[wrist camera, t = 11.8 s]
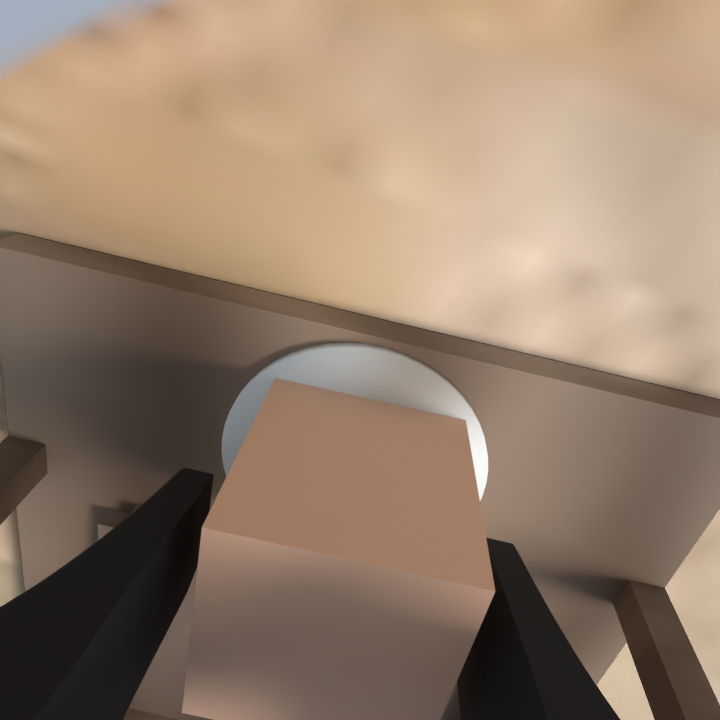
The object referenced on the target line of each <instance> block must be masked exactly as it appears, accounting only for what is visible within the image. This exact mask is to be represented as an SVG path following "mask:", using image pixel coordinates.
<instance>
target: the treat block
mask: <svg viewBox="0 0 720 720" xmlns="http://www.w3.org/2000/svg"><path fill="white" fill-rule="evenodd" d="M494 594H495V585H494V580H493V574H492V568H491V562H490V557H489V551H488V545H487V539H486V533H485V528H484V522H483V516H482V510H481V504H480V499H479V493H478V487H477V481H476V476H475V470H474V464H473V458H472V452H471V447H470V441H469V435H468V429H467V424H466V420H463V419H459V418H454V417H450V416H445V415H441V414H436V413H432V412H427V411H423V410H418V409H414V408H409V407H405V406H400V405H396V404H391V403H387V402H382V401H378V400H373V399H369V398H364V397H360V396H355V395H351V394H346V393H342V392H338V391H333V390H328V389H324V388H319V387H315V386H310V385H306V384H301V383H297V382H292V381H288V380H283V379H279V378H275V379H274V381H273V383H272V385H271V387H270V389H269V391H268V393H267V395H266V397H265V399H264V401H263V403H262V405H261V407H260V410H259V412H258V414H257V416H256V418H255V420H254V422H253V424H252V426H251V428H250V430H249V432H248V434H247V436H246V438H245V440H244V442H243V444H242V446H241V448H240V450H239V452H238V454H237V457H236V459H235V461H234V463H233V465H232V467H231V469H230V471H229V473H228V475H227V477H226V479H225V481H224V483H223V485H222V487H221V489H220V491H219V493H218V495H217V497H216V499H215V502H214V504H213V506H212V508H211V510H210V512H209V514H208V516H207V518H206V520H205V522H204V524H203V526H202V530H201V540H200V549H199V558H198V567H197V577H196V586H195V595H194V604H193V614H192V623H191V632H190V641H189V651H188V660H187V669H186V678H185V688H184V697H183V706H182V713H185V714H189V715H194V716H199V717H203V718H208V719H213V720H440V719H441V717H442V715H443V712H444V710H445V708H446V705H447V703H448V701H449V698H450V696H451V694H452V691H453V689H454V687H455V684H456V682H457V680H458V677H459V675H460V673H461V670H462V668H463V666H464V663H465V661H466V659H467V656H468V654H469V652H470V650H471V647H472V645H473V643H474V640H475V638H476V636H477V633H478V631H479V629H480V626H481V624H482V622H483V619H484V617H485V615H486V612H487V610H488V608H489V605H490V603H491V601H492V598H493V596H494Z"/></svg>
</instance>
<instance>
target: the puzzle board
mask: <svg viewBox="0 0 720 720" xmlns="http://www.w3.org/2000/svg"><path fill="white" fill-rule="evenodd" d="M0 358H1V368H2V377H3V387H4V396H5V406H6V415H7V425H8V435H9V436H8V437H7V438H5V439H4V440H3V441H2V442H1V443H0V524H1V523H2V522H3V521H4V520H5V519H6V518H7V517H8V516H9V515H10V514H11V512H12V511H13V510H14V509H15V508H16V511H17V521H18V530H19V540H20V549H21V559H22V569H23V578H24V588H25V591H27V590H28V589H30V588H32V587H33V586H35V585H36V584H38V583H39V582H41V581H42V580H44V579H45V578H47V577H48V576H50V575H51V574H53V573H54V572H55V571H57V570H58V569H60V568H61V567H63V566H64V565H65V564H67V563H68V562H70V561H71V560H72V559H74V558H75V557H76V556H78V555H79V554H80V553H82V552H83V551H84V550H86V549H87V548H88V547H90V546H91V545H93V544H94V543H95V542H97V541H98V540H99V539H101V538H102V537H103V536H104V535H106V534H107V533H108V532H109V531H111V530H112V529H113V528H114V527H116V526H117V525H118V524H119V523H120V522H122V521H123V520H124V519H125V518H127V517H128V516H129V515H130V514H131V513H133V512H134V511H135V510H136V509H137V508H139V507H140V506H141V505H142V504H143V503H144V502H145V501H147V500H148V499H149V498H150V497H151V496H152V495H153V494H155V493H156V492H157V491H158V490H159V489H160V488H161V487H162V486H163V485H164V484H165V483H167V482H168V481H169V480H170V479H171V478H172V477H173V476H174V475H175V474H176V473H177V472H178V471H179V470H181V469H183V468H189V469H194V470H198V471H202V472H207V473H211V474H214V476H213V485H212V494H211V502H210V510H211V508H212V506H213V504H214V502H215V499H216V497H217V495H218V493H219V491H220V489H221V487H222V485H223V483H224V481H225V479H226V477H227V475H228V473H229V471H230V469H231V467H232V465H233V463H234V461H235V459H236V457H237V454H238V452H239V450H240V448H241V446H242V444H243V442H244V440H245V438H246V436H247V434H248V432H249V430H250V428H251V426H252V424H253V422H254V420H255V418H256V416H257V414H258V412H259V410H260V407H261V405H262V403H263V401H264V399H265V397H266V395H267V393H268V391H269V389H270V387H271V385H272V383H273V381H274V379H275V378H279V379H283V380H288V381H292V382H297V383H301V384H306V385H310V386H315V387H319V388H324V389H328V390H333V391H338V392H342V393H346V394H351V395H355V396H360V397H364V398H369V399H373V400H378V401H382V402H387V403H391V404H396V405H400V406H405V407H409V408H414V409H418V410H423V411H427V412H432V413H436V414H441V415H445V416H450V417H454V418H459V419H463V420H466V424H467V429H468V435H469V441H470V447H471V452H472V458H473V464H474V470H475V476H476V481H477V487H478V493H479V499H480V504H481V510H482V516H483V522H484V528H485V533H486V538H491V539H495V540H499V541H504V542H508V543H512V544H514V546H515V548H516V550H517V551H518V553H519V555H520V557H521V559H522V560H523V562H524V564H525V566H526V568H527V570H528V571H529V573H530V575H531V577H532V579H533V580H534V582H535V584H536V586H537V588H538V590H539V591H540V593H541V595H542V597H543V599H544V600H545V602H546V604H547V606H548V607H549V609H550V611H551V613H552V614H553V616H554V618H555V620H556V621H557V623H558V625H559V626H560V628H561V630H562V631H563V633H564V635H565V636H566V638H567V640H568V641H569V643H570V645H571V646H572V648H573V650H574V651H575V653H576V655H577V656H578V658H579V659H580V661H581V663H582V664H583V666H584V667H585V669H586V670H587V672H588V673H589V675H590V676H591V678H592V679H593V681H594V682H595V684H596V685H597V684H598V682H599V681H600V680H601V678H602V677H603V675H604V674H605V672H606V671H607V669H608V668H609V667H610V665H611V664H612V662H613V661H614V659H615V658H616V657H617V655H618V654H619V652H620V651H621V649H622V648H623V647H624V645H625V644H626V642H627V644H628V647H629V649H630V652H631V655H632V658H633V660H634V663H635V666H636V669H637V672H638V674H639V677H640V680H641V683H642V685H643V688H644V691H645V694H646V697H647V699H648V702H649V705H650V708H651V710H652V713H653V716H654V719H655V720H720V705H719V703H718V701H717V698H716V696H715V694H714V692H713V690H712V688H711V686H710V684H709V681H708V679H707V677H706V675H705V673H704V671H703V669H702V666H701V664H700V662H699V660H698V658H697V656H696V654H695V652H694V649H693V647H692V645H691V643H690V641H689V639H688V637H687V635H686V632H685V630H684V628H683V626H682V624H681V622H680V620H679V618H678V615H677V613H676V611H675V609H674V607H673V605H672V603H671V601H670V598H669V596H668V594H667V592H666V590H665V586H666V585H667V584H668V582H669V581H670V579H671V578H672V576H673V575H674V574H675V572H676V571H677V569H678V568H679V566H680V565H681V563H682V562H683V561H684V559H685V558H686V556H687V555H688V553H689V552H690V551H691V549H692V548H693V546H694V545H695V543H696V542H697V541H698V539H699V538H700V536H701V535H702V533H703V532H704V531H705V529H706V528H707V526H708V525H709V523H710V522H711V521H712V519H713V518H714V516H715V515H716V513H717V512H718V510H719V509H720V400H718V399H714V398H709V397H705V396H701V395H697V394H693V393H688V392H684V391H680V390H676V389H672V388H667V387H663V386H659V385H655V384H651V383H646V382H642V381H638V380H634V379H630V378H625V377H621V376H617V375H613V374H609V373H604V372H600V371H596V370H592V369H588V368H583V367H579V366H575V365H571V364H567V363H562V362H558V361H554V360H550V359H546V358H541V357H537V356H533V355H529V354H525V353H520V352H516V351H512V350H508V349H504V348H499V347H495V346H491V345H487V344H483V343H478V342H474V341H470V340H466V339H462V338H457V337H453V336H449V335H445V334H441V333H436V332H432V331H428V330H424V329H420V328H415V327H411V326H407V325H403V324H399V323H394V322H390V321H386V320H382V319H378V318H373V317H369V316H365V315H361V314H357V313H352V312H348V311H344V310H340V309H336V308H331V307H327V306H323V305H319V304H315V303H310V302H306V301H302V300H298V299H294V298H289V297H285V296H281V295H277V294H273V293H268V292H264V291H260V290H256V289H252V288H247V287H243V286H239V285H235V284H231V283H226V282H222V281H218V280H214V279H210V278H205V277H201V276H197V275H193V274H189V273H184V272H180V271H176V270H172V269H168V268H163V267H159V266H155V265H151V264H147V263H142V262H138V261H134V260H130V259H126V258H121V257H117V256H113V255H109V254H105V253H100V252H96V251H92V250H88V249H84V248H79V247H75V246H71V245H67V244H63V243H58V242H54V241H50V240H46V239H42V238H37V237H33V236H29V235H25V234H21V233H16V234H13V235H11V236H8V237H6V238H3V239H1V240H0ZM209 512H210V511H209ZM197 567H198V566H197ZM196 577H197V569H196V571H195V574H194V576H193V579H192V582H191V584H190V587H189V589H188V592H187V594H186V596H185V598H184V600H183V602H182V604H181V606H180V608H179V610H178V611H177V613H176V615H175V617H174V619H173V621H172V623H171V625H170V627H169V629H168V631H167V633H166V635H165V637H164V639H163V641H162V643H161V645H160V647H159V649H158V651H157V653H156V655H155V656H154V658H153V660H152V662H151V664H150V666H149V668H148V670H147V672H146V674H145V676H144V678H143V680H142V682H141V684H140V686H139V688H138V690H137V692H136V694H135V695H134V698H133V700H132V702H131V704H130V706H129V708H128V710H127V713H126V715H125V717H124V719H123V720H213V719H208V718H203V717H199V716H194V715H189V714H185V713H182V706H183V697H184V688H185V678H186V669H187V660H188V651H189V641H190V632H191V623H192V614H193V604H194V595H195V586H196ZM440 720H461V716H460V706H459V695H458V684H457V682H456V684H455V687H454V689H453V691H452V694H451V696H450V698H449V701H448V703H447V705H446V708H445V710H444V712H443V715H442V717H441V719H440Z"/></svg>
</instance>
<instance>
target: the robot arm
mask: <svg viewBox="0 0 720 720" xmlns="http://www.w3.org/2000/svg"><path fill="white" fill-rule="evenodd" d="M213 476H214V474H211V473H207V472H202V471H198V470H194V469H189V468H183V469H181V470H179V471H178V472H177V473H176V474H175V475H174V476H173V477H172V478H171V479H170V480H169V481H168V482H167V483H165V484H164V485H163V486H162V487H161V488H160V489H159V490H158V491H157V492H156V493H155V494H153V495H152V496H151V497H150V498H149V499H148V500H147V501H145V502H144V503H143V504H142V505H141V506H140V507H139V508H137V509H136V510H135V511H134V512H133V513H131V514H130V515H129V516H128V517H127V518H125V519H124V520H123V521H122V522H120V523H119V524H118V525H117V526H116V527H114V528H113V529H112V530H111V531H109V532H108V533H107V534H106V535H104V536H103V537H102V538H101V539H99V540H98V541H97V542H95V543H94V544H93V545H91V546H90V547H88V548H87V549H86V550H84V551H83V552H82V553H80V554H79V555H78V556H76V557H75V558H74V559H72V560H71V561H70V562H68V563H67V564H65V565H64V566H63V567H61V568H60V569H58V570H57V571H55V572H54V573H53V574H51V575H50V576H48V577H47V578H45V579H44V580H42V581H41V582H39V583H38V584H36V585H35V586H33V587H32V588H30V589H28V590H27V591H25V592H24V593H22V594H21V595H19V596H17V597H16V598H14V599H13V600H11V601H10V602H8V603H6V604H5V605H3V606H1V607H0V720H123V719H124V717H125V715H126V713H127V710H128V708H129V706H130V704H131V702H132V700H133V698H134V695H135V694H136V692H137V690H138V688H139V686H140V684H141V682H142V680H143V678H144V676H145V674H146V672H147V670H148V668H149V666H150V664H151V662H152V660H153V658H154V656H155V655H156V653H157V651H158V649H159V647H160V645H161V643H162V641H163V639H164V637H165V635H166V633H167V631H168V629H169V627H170V625H171V623H172V621H173V619H174V617H175V615H176V613H177V611H178V610H179V608H180V606H181V604H182V602H183V600H184V598H185V596H186V594H187V592H188V589H189V587H190V584H191V582H192V579H193V576H194V574H195V571H196V569H197V566H198V558H199V549H200V540H201V530H202V526H203V524H204V522H205V520H206V518H207V516H208V514H209V511H210V502H211V494H212V485H213ZM486 539H487V545H488V551H489V557H490V562H491V568H492V574H493V580H494V585H495V594H494V596H493V598H492V601H491V603H490V605H489V608H488V610H487V612H486V615H485V617H484V619H483V622H482V624H481V626H480V629H479V631H478V633H477V636H476V638H475V640H474V643H473V645H472V647H471V650H470V652H469V654H468V656H467V659H466V661H465V663H464V666H463V668H462V670H461V673H460V675H459V677H458V680H457V684H458V695H459V706H460V716H461V720H620V718H619V717H618V716H617V714H616V713H615V712H614V710H613V709H612V707H611V706H610V704H609V703H608V702H607V700H606V699H605V697H604V696H603V694H602V693H601V691H600V690H599V688H598V687H597V685H596V684H595V682H594V681H593V679H592V678H591V676H590V675H589V673H588V672H587V670H586V669H585V667H584V666H583V664H582V663H581V661H580V659H579V658H578V656H577V655H576V653H575V651H574V650H573V648H572V646H571V645H570V643H569V641H568V640H567V638H566V636H565V635H564V633H563V631H562V630H561V628H560V626H559V625H558V623H557V621H556V620H555V618H554V616H553V614H552V613H551V611H550V609H549V607H548V606H547V604H546V602H545V600H544V599H543V597H542V595H541V593H540V591H539V590H538V588H537V586H536V584H535V582H534V580H533V579H532V577H531V575H530V573H529V571H528V570H527V568H526V566H525V564H524V562H523V560H522V559H521V557H520V555H519V553H518V551H517V550H516V548H515V546H514V544H512V543H508V542H504V541H499V540H495V539H491V538H486Z"/></svg>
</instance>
